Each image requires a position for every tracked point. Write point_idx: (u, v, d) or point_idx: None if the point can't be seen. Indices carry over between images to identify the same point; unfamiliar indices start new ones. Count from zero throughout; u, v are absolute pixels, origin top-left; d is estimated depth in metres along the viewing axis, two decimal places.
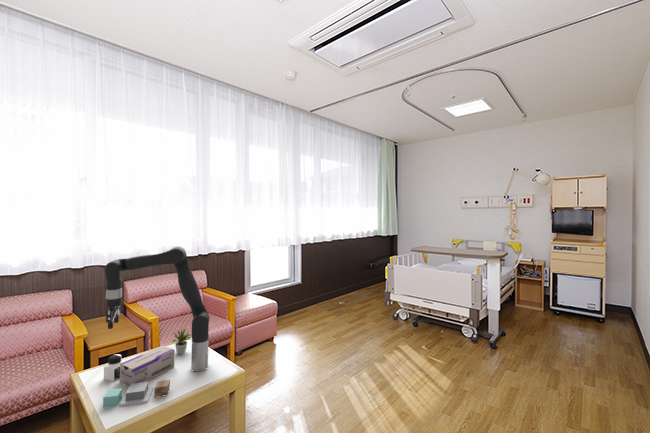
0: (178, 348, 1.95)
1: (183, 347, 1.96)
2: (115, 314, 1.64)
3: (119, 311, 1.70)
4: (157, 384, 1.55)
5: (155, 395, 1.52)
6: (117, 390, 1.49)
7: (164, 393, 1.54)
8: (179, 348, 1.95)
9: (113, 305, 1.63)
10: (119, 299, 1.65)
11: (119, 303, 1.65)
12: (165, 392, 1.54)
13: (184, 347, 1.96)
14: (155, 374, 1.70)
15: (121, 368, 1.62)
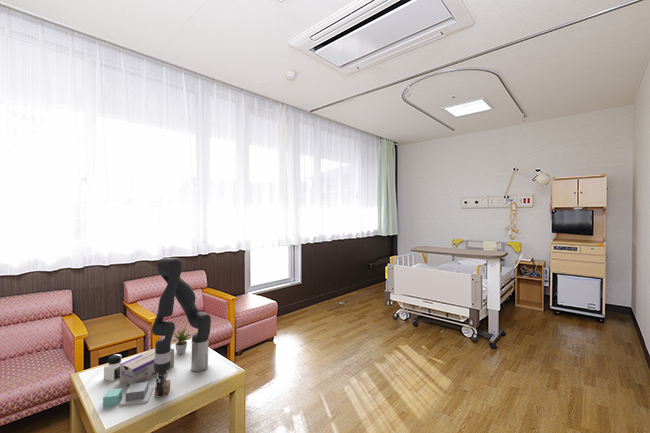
0: (178, 348, 1.95)
1: (183, 347, 1.96)
2: (164, 379, 1.54)
3: (166, 375, 1.59)
4: None
5: (155, 395, 1.52)
6: (117, 390, 1.49)
7: (164, 393, 1.53)
8: (179, 348, 1.95)
9: (162, 370, 1.52)
10: (168, 363, 1.54)
11: (168, 367, 1.55)
12: (165, 392, 1.54)
13: (184, 347, 1.96)
14: (155, 374, 1.70)
15: (121, 369, 1.62)
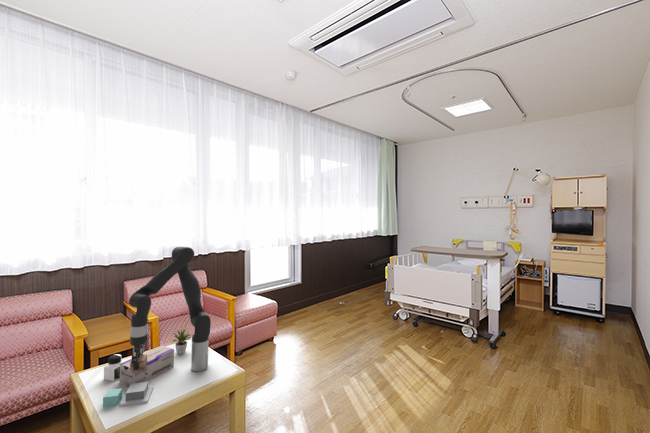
0: (178, 348, 1.95)
1: (183, 347, 1.96)
2: (141, 353, 1.49)
3: (143, 350, 1.54)
4: None
5: (131, 369, 1.48)
6: (117, 390, 1.49)
7: (140, 367, 1.49)
8: (179, 348, 1.95)
9: (138, 344, 1.48)
10: (145, 336, 1.50)
11: (145, 341, 1.50)
12: (142, 366, 1.49)
13: (184, 347, 1.96)
14: (155, 374, 1.70)
15: (121, 369, 1.62)
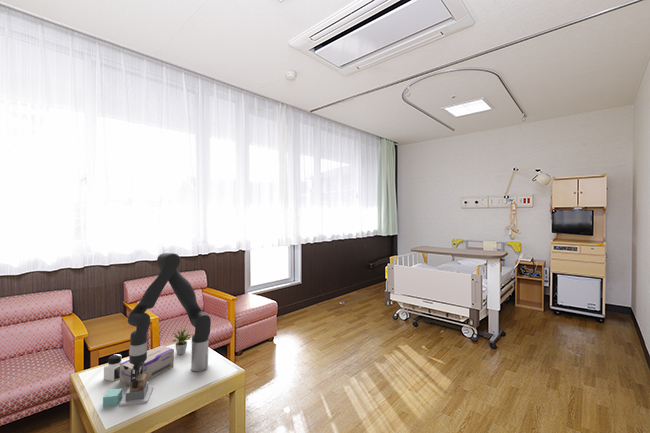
0: (178, 348, 1.95)
1: (183, 347, 1.96)
2: (140, 371, 1.49)
3: (143, 366, 1.55)
4: None
5: (131, 389, 1.48)
6: (117, 390, 1.49)
7: (140, 387, 1.49)
8: (179, 348, 1.95)
9: (138, 362, 1.48)
10: (144, 355, 1.50)
11: (144, 359, 1.50)
12: (141, 386, 1.50)
13: (184, 347, 1.96)
14: (155, 374, 1.70)
15: (121, 369, 1.62)
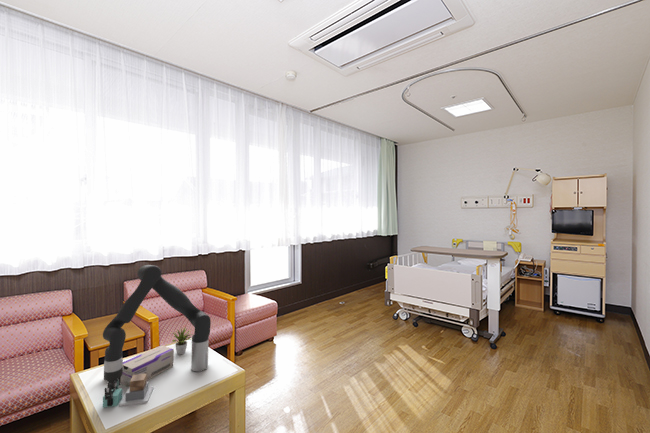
0: (178, 348, 1.95)
1: (183, 347, 1.96)
2: (115, 388, 1.45)
3: (119, 383, 1.50)
4: (133, 378, 1.51)
5: (131, 389, 1.48)
6: (117, 390, 1.49)
7: (140, 387, 1.49)
8: (179, 348, 1.95)
9: (112, 379, 1.43)
10: (119, 371, 1.46)
11: (119, 375, 1.46)
12: (141, 386, 1.50)
13: (184, 347, 1.96)
14: (155, 373, 1.70)
15: None
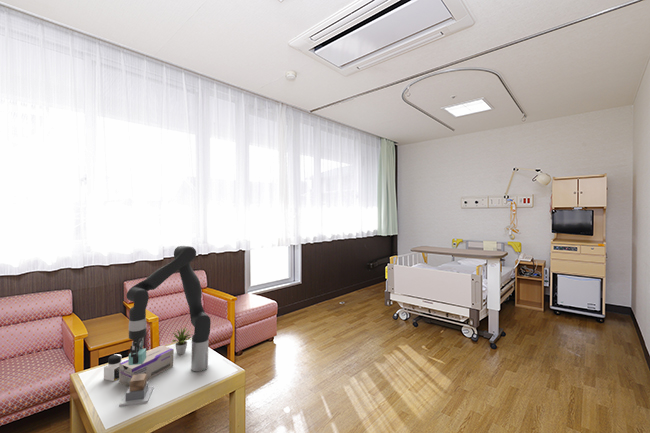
0: (178, 348, 1.95)
1: (183, 347, 1.96)
2: (140, 347, 1.49)
3: (143, 343, 1.54)
4: (133, 378, 1.51)
5: (131, 389, 1.48)
6: (141, 350, 1.53)
7: (140, 387, 1.49)
8: (179, 348, 1.95)
9: (137, 337, 1.47)
10: (143, 330, 1.50)
11: (143, 335, 1.50)
12: (141, 386, 1.50)
13: (184, 347, 1.96)
14: (154, 373, 1.70)
15: (120, 368, 1.62)
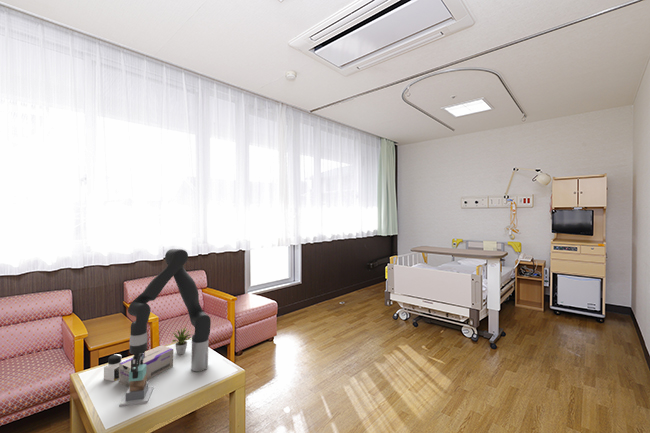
0: (178, 348, 1.95)
1: (183, 347, 1.96)
2: (140, 362, 1.49)
3: (143, 356, 1.55)
4: None
5: (131, 389, 1.48)
6: (142, 365, 1.53)
7: (140, 387, 1.49)
8: (179, 348, 1.95)
9: (138, 352, 1.48)
10: (144, 345, 1.50)
11: (144, 349, 1.50)
12: (141, 386, 1.50)
13: (184, 347, 1.96)
14: (154, 373, 1.71)
15: (120, 368, 1.62)
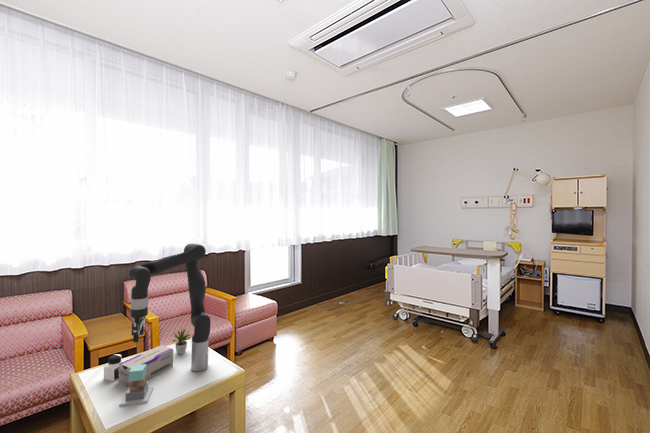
0: (178, 348, 1.95)
1: (183, 347, 1.96)
2: (141, 326, 1.49)
3: (144, 322, 1.54)
4: None
5: (131, 389, 1.48)
6: (142, 365, 1.53)
7: (140, 387, 1.49)
8: (179, 348, 1.95)
9: (139, 316, 1.47)
10: (145, 309, 1.49)
11: (145, 314, 1.50)
12: (141, 386, 1.50)
13: (184, 347, 1.96)
14: (154, 373, 1.71)
15: (120, 368, 1.62)
